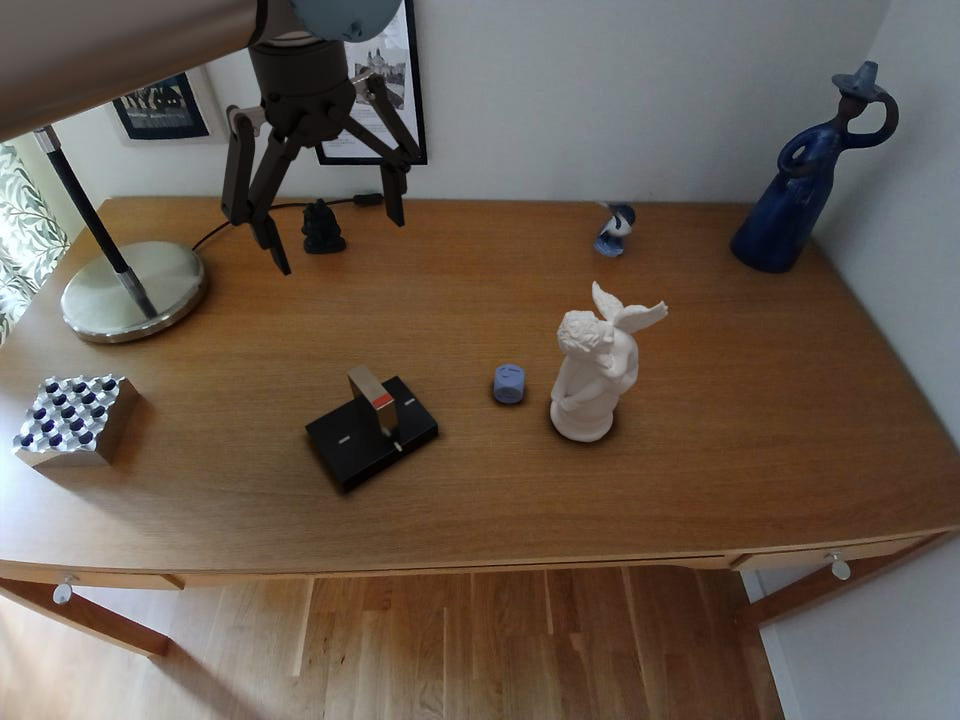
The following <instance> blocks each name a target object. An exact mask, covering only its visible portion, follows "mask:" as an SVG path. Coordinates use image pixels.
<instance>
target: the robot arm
mask: <svg viewBox="0 0 960 720" xmlns="http://www.w3.org/2000/svg"><path fill="white" fill-rule="evenodd" d="M402 2H403V0H0V144H3V143H6V142H8V141H11V140H14V139H16V138H19V137H21V136H24V135H26V134H28V133H31V132H34V131H36V130H39V129H42V128H44V127H48V126H50V125H53V124H55V123H57V122H60V121H63V120H65V119H68V118H70V117H73V116H75V115H78V114H80V113H83V112H86V111H88V110H91V109H93V108H96V107H99V106H101V105H103V104H106V103H109V102H111V101H114V100H117V99H119V98H122V97H124V96H127V95H129V94H132V93H135V92H137V91H140V90H143V89H144V88H147V87H150V86H153V85H154V84H157V83H161V82H162V81H163V82H164V81H165V80H167V79H170V78H173V77H176V76H178V75H181V74H183V73H185V72H188V71H191V70H194V69H196V68H199V67H200V66H204V65H207V64H208V63H211V62H214V61H216V60H219V59H222V58H224V57H227V56H230V55H232V54H234V53H238V52H241V51H242V50H244V49H247V51H248V55H249V58H250V61H251V64H252V68H253V73H254V75H255V78H256V82H257V84H258V88H259V92H260V101H259V102H260V103H259V105H258V106H257V105H256V106H251V107H245V108H240V107H239V106H238V105H236V104H230V105H228V106H227V107H226V109H225V115H226V119H227V124H228V128H229V133H230V134H229V141H228V148H227V155H226V156H227V157H226V163H225V171H224V179H223V186H222V194H221V200H220V211H221V212H222V214H223V215H224V216H225V218H226V219H227V221H228V222H229V223H230V224H231V225H232V226H233V227H240V226H242V225H243V224H248V226H249V228H250V231H251V234H252V236H253V239H254V241H255V242H256V243H257V245H258V246H259V247H260V249H261V250H263V251H267V250H269V252H270V255H271V258H272V261H273V262H274V264H275V265H276V267H277V268H278V269H279V271H280V272H281V273H282V275H283V276H284V277H287V276H289V275H292V269H291V267H290V264H289V261H288V258H287V254H286V252H285V249H284V246H283V243H282V240H281V239H282V238H281V236H280V234H279V231H278V227H277V225H276V222H275V220H274V219H273V217H272V216H271V214H269V211H270V209H271V207H272V206H273V203H274V201H275V198H276V196H277V194H278V192H279V189H280V187H281V186H282V183H283V181H284V179H285V176H286V174H287V172H288V170H289V167H290V165H291V163H292V162H293V161H294V162H295V161H296V160H297V158H298V156H299V153H300V151H301V149H302V148H306V149H307V150H309V149H312V148H315V147H317V146H318V145H320V144H321V143H323V142H333V141H335V140H339V136H340V135H341V134H342V133H343V132H344V130H345V131H346V132H348V134H350V135H351V136H353V137H354V138H355V139H357V140H358V141H359V142H361V143H362V144H364V145H365V146H367V147H368V148H369V149H370V150H372V151H373V152H374V153H376V154H377V155H378V156H380V157H381V158H382V159H384V160H385V161H384V162H381V163H379V170H380V171H379V172H380V178H381V184H382V191H383V197H384V198H383V199H384V206H385V211H386V216H387V218H389V219H390V220H391V221H392V222H393V223H394V224H395V225H396V227H398V228H402V227H404V226H406V219H405V213H404V204H403V203H404V202H403V195H404V196H405V195H406V194H407V192H408V179H407V174H409V173H410V172H411V169H412V164H411V163H410V162H411V161H412V160H418V159H419V158H420V157H421V155H422V149H421V148H420V146H419V145H418V143H417V141H416V140H415V138H414V137H413V135H412V133H411V132H410V130H409V129H408V127H407V126H406V124H405V123H404V121H403V120H402V118H401V116H400V115H399V112H397V110H396V108H395V107H394V105H393V103H392V102H391V100H390V99H389V97H388V92H387V88H386V87H387V86H386V83H385V80H384V77H383V76H381V75H380V74H379V73H377V71H374V70H373V69H371V68H370V67H369V66H367V65H364V66H362V67H361V68H360V69H359V72H358V75H356V76H354V77H351V78H350V76H349V64H348V57H347V52H346V46H345V42H346V43H351V44H360V43H364V42H368V41H370V40H373V39H375V38H376V37H377V36H379V35H380V34H382V33H383V32H384V31H385V29H387V27H388V26H389V25H390V23H391V22H392V21H393V20H394V18H395V17H396V15H397V13H398V11H399V10H400V7H401V5H402ZM357 94H358V95H359V96H360V97H361V98H362V99H364V100H365V101H367V102H368V103H369V104H370V106H371V107H372V109H373V110H374V112H375V113H376V114H377V116H378V118H379V119H380V121H381V123H383V125H384V126H385V128H386V129H387V131H388V132H389V133H390V135H391V136H392V138H393V139H394V141H395V143H396V144H397V145H398V146H396V147H395V148H394V149H393V147H391V146H390V145H388V144H387V143H385V141H383V140H382V139H380V138H379V137H378V136H377V135H375V134H374V133H373V132H371V131H370V130H369V129H368V128H367V127H365V126H364V125H362V123H361V122H359V121H357V119H355V118H354V117H353V116H352V115H350V114H351V112H352V110H353V107H354V104H355V102H356V100H357ZM265 123H267V124H268V125H269V126H271V129H270V132H269V134H268V137H267V146H266V149H265V151H264V152H263V153H264V154H263V156H262V158H261V160H260V163H259V165H258V167H257V170H256V172H255V174H254V176H253V178H252V172H253V166H254V161H255V154H256V138H258V137H260V135H261V127H262V125H263V124H265ZM286 138H287V139H286ZM251 179H252V181H251Z"/></svg>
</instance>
